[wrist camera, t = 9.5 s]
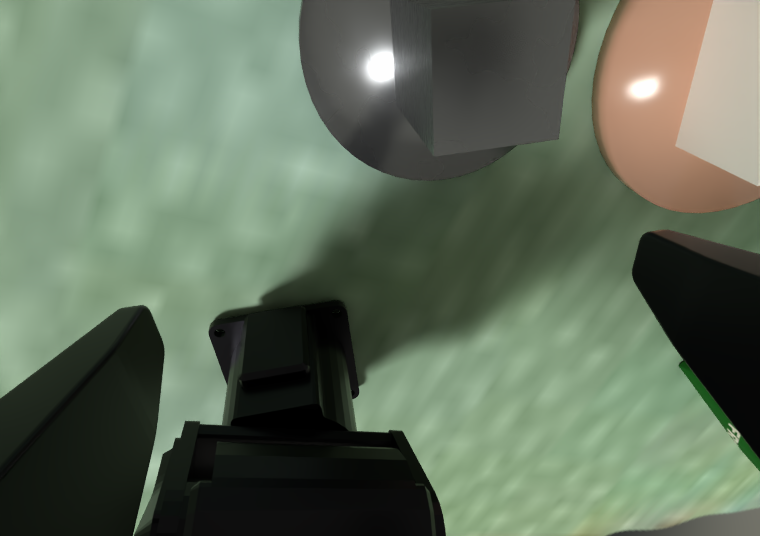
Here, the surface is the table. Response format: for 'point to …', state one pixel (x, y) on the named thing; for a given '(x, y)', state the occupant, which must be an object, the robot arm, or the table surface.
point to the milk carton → (720, 415)
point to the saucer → (657, 107)
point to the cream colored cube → (727, 92)
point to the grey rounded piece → (437, 78)
